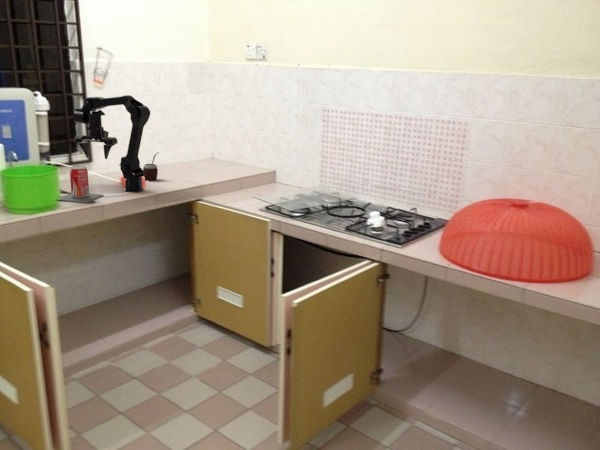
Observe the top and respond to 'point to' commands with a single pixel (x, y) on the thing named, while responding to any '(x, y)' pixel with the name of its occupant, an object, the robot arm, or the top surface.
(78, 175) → the soda can
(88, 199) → the charcoal mat
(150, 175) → the mate gourd
